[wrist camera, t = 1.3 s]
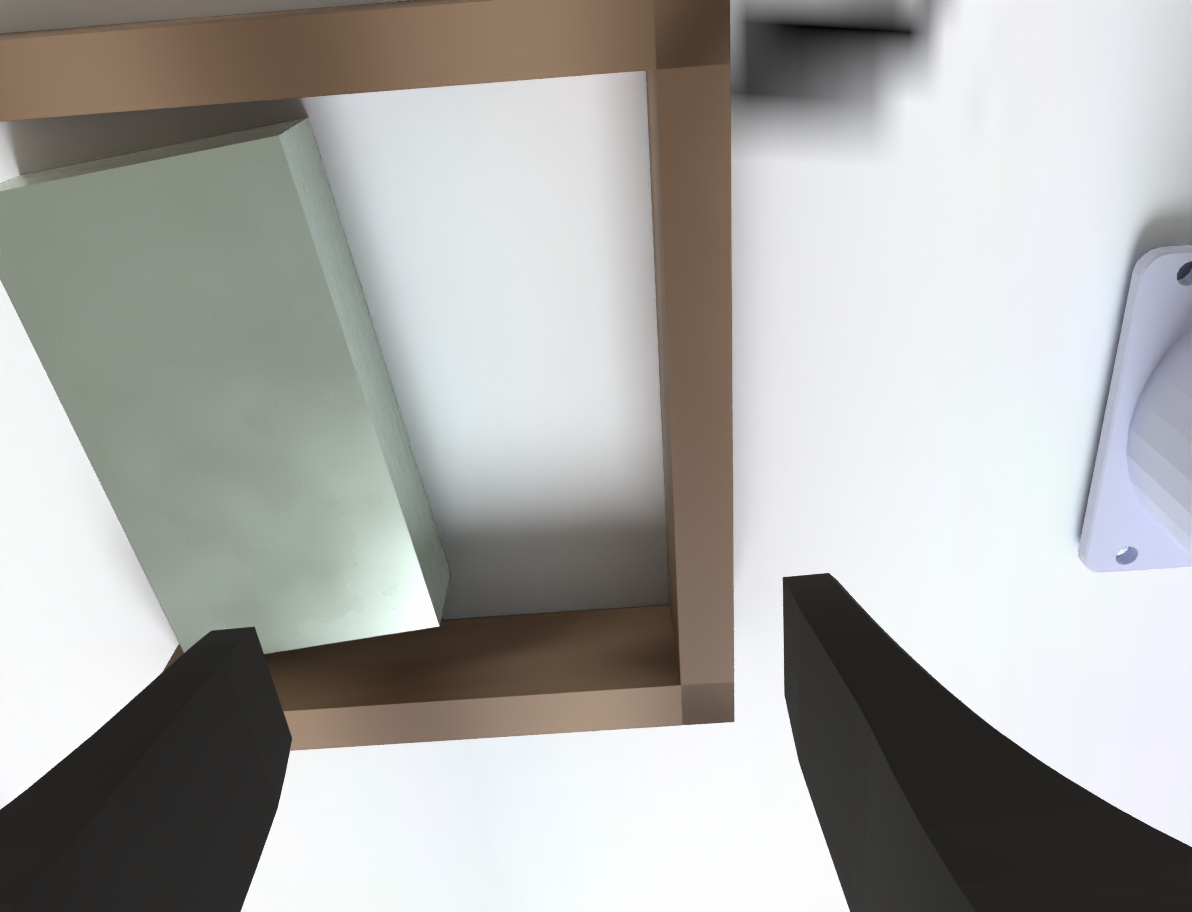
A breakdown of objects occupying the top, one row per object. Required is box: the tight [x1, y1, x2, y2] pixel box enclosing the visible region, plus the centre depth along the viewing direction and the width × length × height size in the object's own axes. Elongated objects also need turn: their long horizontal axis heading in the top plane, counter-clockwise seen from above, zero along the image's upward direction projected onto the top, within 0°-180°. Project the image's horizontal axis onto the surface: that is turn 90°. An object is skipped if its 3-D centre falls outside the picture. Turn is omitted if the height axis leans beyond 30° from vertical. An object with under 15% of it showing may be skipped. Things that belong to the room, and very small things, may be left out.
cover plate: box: [0, 118, 450, 654], centre depth 21 cm, size 6×11×2 cm, turn 10°
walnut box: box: [0, 0, 734, 751], centre depth 20 cm, size 14×15×3 cm
